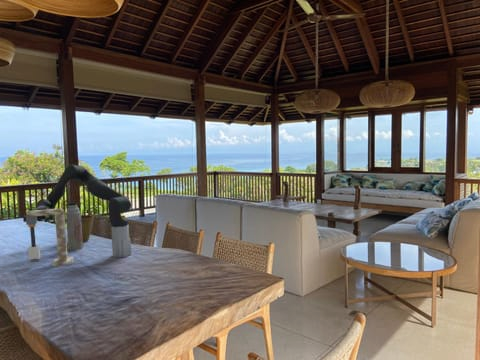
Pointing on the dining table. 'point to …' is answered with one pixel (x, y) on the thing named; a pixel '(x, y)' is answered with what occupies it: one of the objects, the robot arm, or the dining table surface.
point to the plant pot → (86, 226)
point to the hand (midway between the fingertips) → (36, 221)
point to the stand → (57, 234)
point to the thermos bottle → (74, 227)
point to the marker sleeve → (34, 252)
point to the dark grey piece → (32, 231)
